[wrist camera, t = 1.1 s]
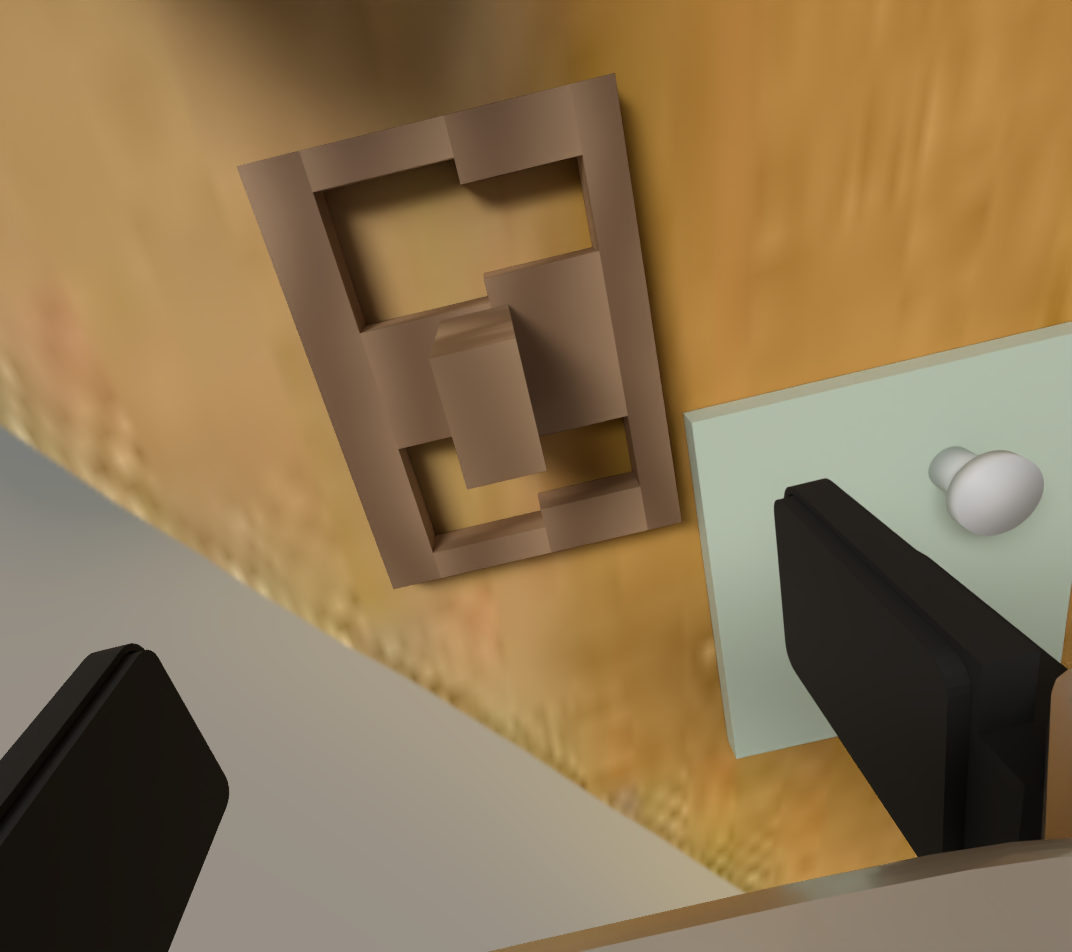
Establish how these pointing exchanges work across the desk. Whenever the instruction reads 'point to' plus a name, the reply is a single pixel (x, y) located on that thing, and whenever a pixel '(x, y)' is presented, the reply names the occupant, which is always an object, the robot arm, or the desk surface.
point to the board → (889, 500)
